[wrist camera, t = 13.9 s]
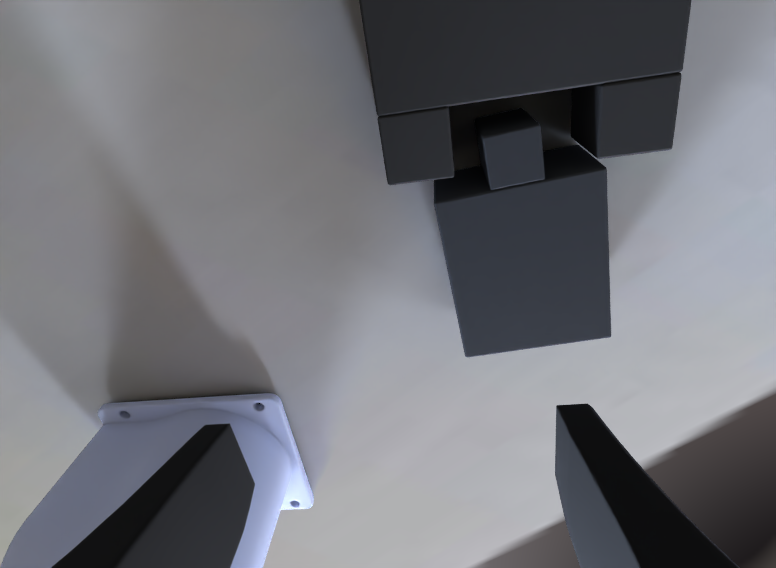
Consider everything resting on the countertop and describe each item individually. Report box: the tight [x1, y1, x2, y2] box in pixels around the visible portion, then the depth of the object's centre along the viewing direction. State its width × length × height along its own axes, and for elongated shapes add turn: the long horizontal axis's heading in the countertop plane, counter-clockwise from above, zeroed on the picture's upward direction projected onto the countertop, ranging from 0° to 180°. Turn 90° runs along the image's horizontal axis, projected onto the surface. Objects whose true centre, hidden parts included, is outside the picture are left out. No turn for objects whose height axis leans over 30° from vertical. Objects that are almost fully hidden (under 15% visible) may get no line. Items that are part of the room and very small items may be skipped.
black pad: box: [359, 0, 691, 185], centre depth 13 cm, size 8×8×3 cm
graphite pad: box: [434, 108, 611, 357], centre depth 16 cm, size 5×8×3 cm, turn 14°
